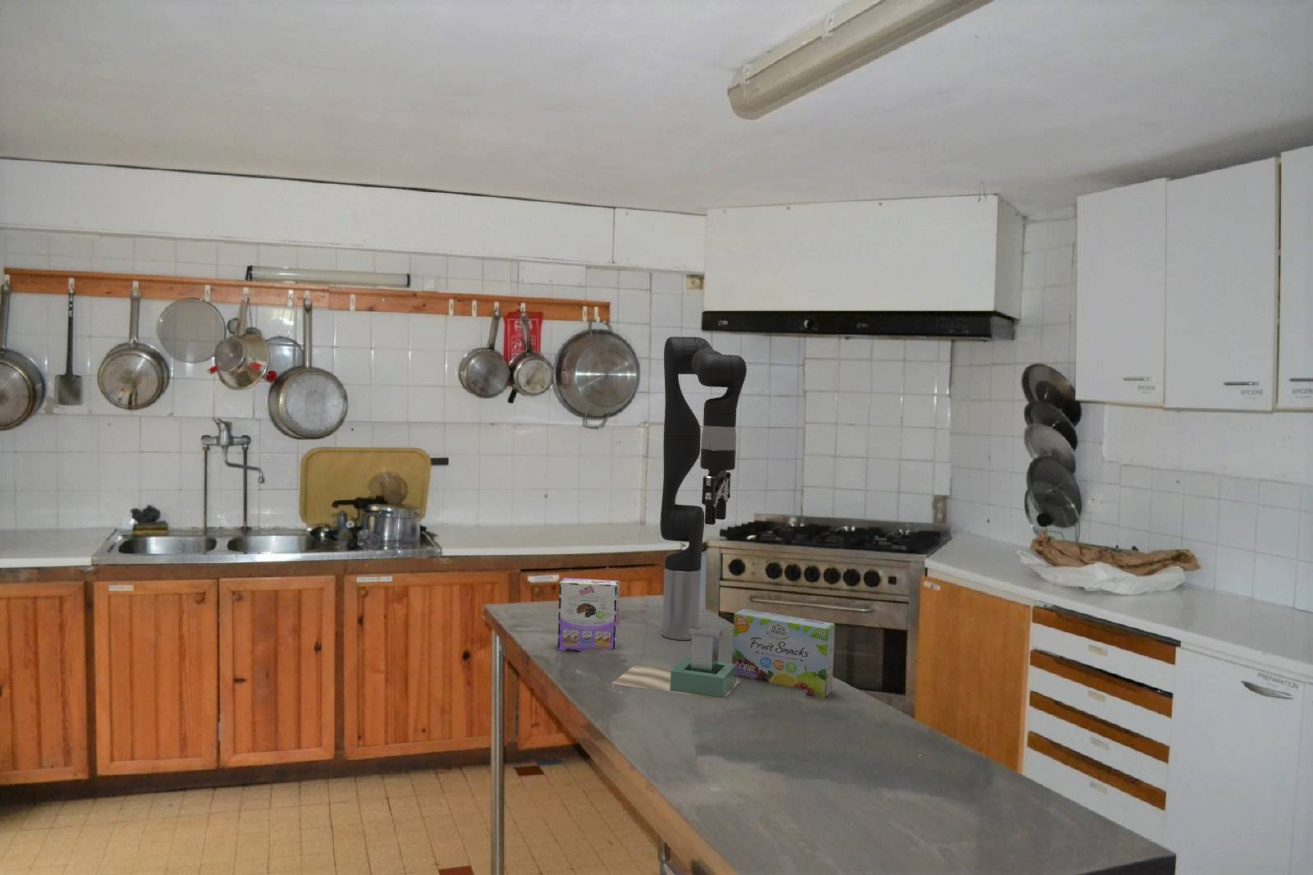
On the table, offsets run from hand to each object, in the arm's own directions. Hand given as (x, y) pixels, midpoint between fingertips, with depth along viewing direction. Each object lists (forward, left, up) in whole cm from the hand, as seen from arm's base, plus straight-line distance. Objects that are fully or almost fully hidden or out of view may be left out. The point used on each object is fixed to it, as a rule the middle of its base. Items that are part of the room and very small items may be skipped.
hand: (715, 521), depth 208 cm
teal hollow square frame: (+11, +2, -33) cm, 35 cm away
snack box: (0, +16, -34) cm, 38 cm away
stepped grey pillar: (+11, +2, -33) cm, 35 cm away
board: (+10, -4, -34) cm, 36 cm away
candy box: (-8, -32, -34) cm, 48 cm away
